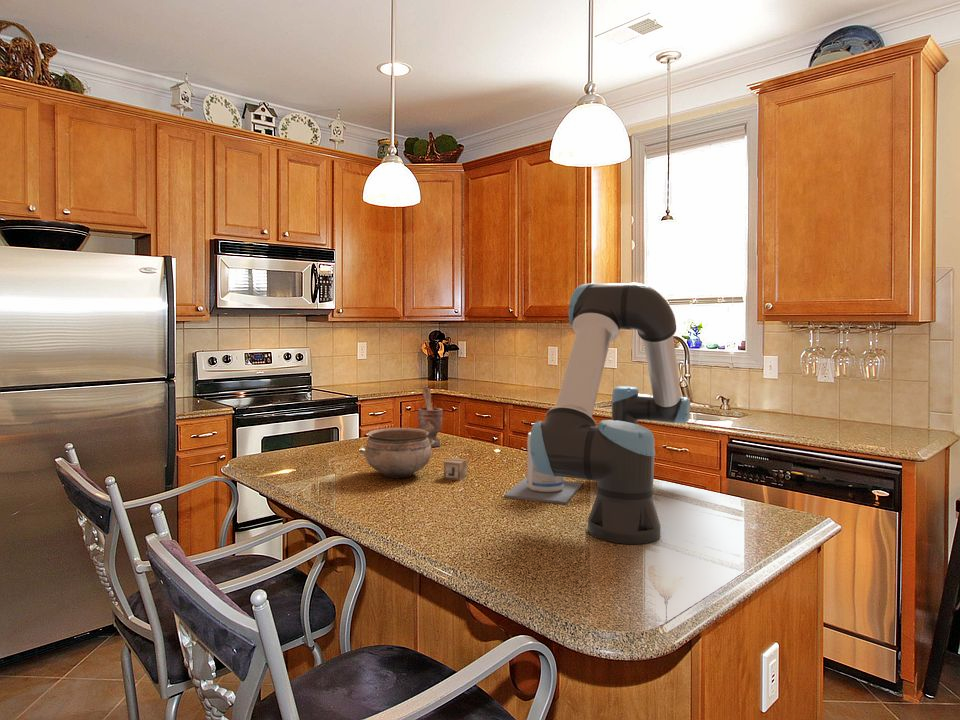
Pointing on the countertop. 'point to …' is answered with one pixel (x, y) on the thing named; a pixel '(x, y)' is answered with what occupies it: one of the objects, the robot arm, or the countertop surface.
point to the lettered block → (455, 469)
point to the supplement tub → (541, 476)
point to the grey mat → (544, 493)
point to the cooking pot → (398, 451)
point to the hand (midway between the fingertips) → (551, 452)
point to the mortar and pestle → (430, 418)
